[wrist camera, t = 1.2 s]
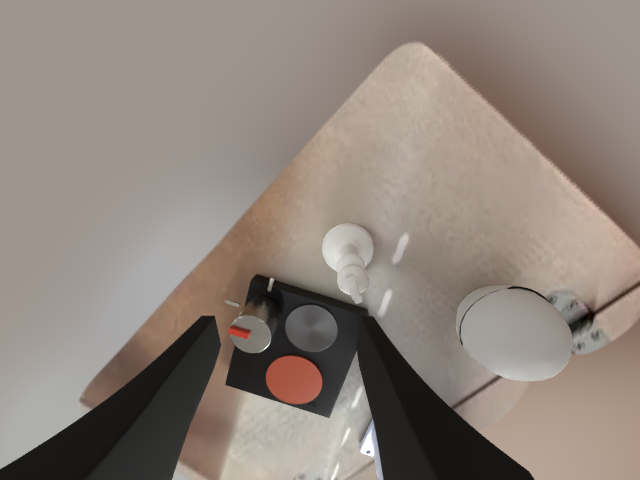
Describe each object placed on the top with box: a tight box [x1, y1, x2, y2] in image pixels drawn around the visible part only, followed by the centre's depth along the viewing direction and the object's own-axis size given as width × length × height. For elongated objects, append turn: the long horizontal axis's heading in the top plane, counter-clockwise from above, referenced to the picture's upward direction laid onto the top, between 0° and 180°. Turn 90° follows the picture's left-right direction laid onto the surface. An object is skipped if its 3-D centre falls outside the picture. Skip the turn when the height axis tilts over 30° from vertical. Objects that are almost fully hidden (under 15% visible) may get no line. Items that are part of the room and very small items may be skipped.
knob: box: [228, 296, 281, 353], centre depth 21 cm, size 4×4×4 cm
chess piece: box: [322, 223, 374, 304], centre depth 17 cm, size 5×5×10 cm
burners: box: [266, 304, 338, 404], centre depth 23 cm, size 6×12×1 cm, turn 163°
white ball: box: [448, 285, 573, 381], centre depth 19 cm, size 10×7×7 cm
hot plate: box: [225, 274, 369, 418], centre depth 24 cm, size 14×14×2 cm
